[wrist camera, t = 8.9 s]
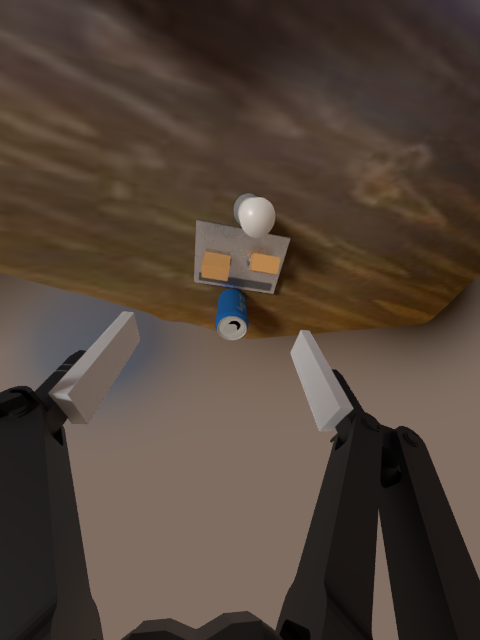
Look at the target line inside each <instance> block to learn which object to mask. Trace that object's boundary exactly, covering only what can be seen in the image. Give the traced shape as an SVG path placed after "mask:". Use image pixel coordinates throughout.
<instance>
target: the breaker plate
mask: <svg viewBox="0 0 480 640" xmlns="http://www.w3.org/2000/svg"><path fill="white" fill-rule="evenodd" d="M290 239H291V238H289V237H287V236H282V235H277V234H272V233H268V234H267V235H265V236H263V237H260V238H254V237H251V236H249V235H247V234H246V233H245V232H244V230H243V229H242V227H236V226H231V225H226V224H221V223H216V222H211V221H206V220H201V219H197V220H196V245H195V271H194V282H198V283H205V284H211V285H218V286H225V287H231V288H238V289H244V290H251V291H258V292H264V293H271V294H273V293H274V290H275V287H276V283H277V280H278V277H279V274H280V271H281V267H282V264H283V261H284V258H285V255H286V251H287V248H288V245H289V242H290ZM205 251H206V252H212V253H217V254H223V255H229V256H231V258H230V259H232V261H231V265H230V269H229V275H228V281H223V280H216V279H210V278H203V277H202V261H203V255H204V253H205ZM253 253H257V254H263V255H268V256H274V257H280V258H281V259H280V264H279V269H278V274H267V273H261V272H255V271H249V270H248V269H249V266H248V260H250V257H251V255H252V254H253Z"/></svg>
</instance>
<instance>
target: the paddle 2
mask: <svg viewBox="0 0 480 640" xmlns="http://www.w3.org/2000/svg"><path fill="white" fill-rule="evenodd" d="M280 259H281V258H280V257H274V256H268V255H263V254H257V253H253V254H252V255H251V257H250V260H248V266H249V269H248V270H249V271H255V272H261V273H267V274H278V269H279V264H280Z"/></svg>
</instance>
